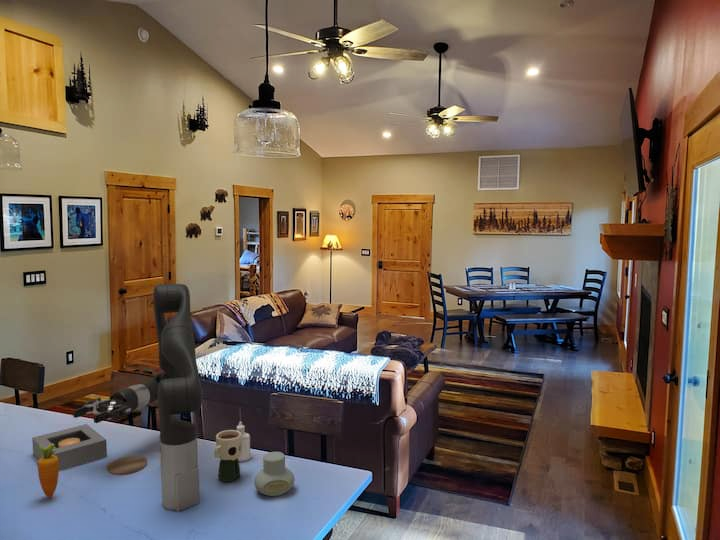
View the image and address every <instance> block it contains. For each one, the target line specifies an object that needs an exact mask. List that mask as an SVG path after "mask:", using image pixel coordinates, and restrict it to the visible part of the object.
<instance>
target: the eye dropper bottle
mask: <svg viewBox="0 0 720 540" xmlns="http://www.w3.org/2000/svg"><path fill="white" fill-rule="evenodd" d="M245 429H246V428H245V425H243V422H242V421H239V422H238V425H237V426H236V430H237V431H239V432H240V433H241V435H242V438H243V443H242V445H241V446H242V453H241V455H240V457H239V458H238V460H239V463H240V462H246V461H249V460H250V459H251V435H250V434H249V433H248V432H245Z"/></svg>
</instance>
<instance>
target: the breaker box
mask: <svg viewBox="0 0 720 540" xmlns="http://www.w3.org/2000/svg"><path fill="white" fill-rule="evenodd" d="M68 438H79V439H80V442H78V443H74V444H70V445H67V446H63V447H59V448H58V443H59V442H60V441H62V440H64V439H68ZM31 441H32V455H33V456H34V457H35V459H36V460H37V461H38V460H39V459H41V458H42V457H44V455H43V453H42V451H41V450H40V448H39V446H40V445H41V446H42V447H43V449H44V448H45V447H47V448H48V445H49V444H54V445H55V446H54V448H53V449H52V451H53V450H55V452H54V453H53V454H52V455H55V456H57V458H58V461H59V472H60V470H62V471H64V470H63V469H65V470H67V468H68V469H72V468H74V466H75V467H78V466H82V465H84V463H85V464H87V462H88V463H92V462H95V461H99V460H101V459H105V458H108V450H107V446H108V445H107V439H106V438H105V437H103V436H102V435H101V434H100V433H99V432H97V431H96V430H95V429H93V428H92V427H91V426H90V425H89V424H87V423H86V424H82V425H78V426H72V427H69V428H66V429H61V430H57V431H53V432H49V433H45V434H41V435H36V436H33V437H32V439H31ZM52 451H51V452H52ZM46 454H47V452H46ZM91 461H92V462H91ZM81 464H82V465H81ZM77 465H78V466H77ZM71 467H72V468H71Z"/></svg>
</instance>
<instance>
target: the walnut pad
mask: <svg viewBox="0 0 720 540" xmlns="http://www.w3.org/2000/svg"><path fill="white" fill-rule="evenodd" d="M147 465H148V460H147V458H146V457H145V456H142V455H128V456H122V457H120V458H119V457H118V458H117V459H114V460H112V461H111V462H109V463H108V464H107V472H108V473H109V474H110V473H111V475H115V476H124V475H131V474H134V473H137V472H140V471H141V470H144V469H145V468H146V467H147ZM144 467H145V468H144Z"/></svg>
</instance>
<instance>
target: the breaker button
mask: <svg viewBox="0 0 720 540" xmlns="http://www.w3.org/2000/svg"><path fill="white" fill-rule="evenodd" d="M78 442H80V439H79V438H68V439H64V440H62V441H60V442H59V443H58V448H59V447H63V446H67V445H70V444H74V443H78Z"/></svg>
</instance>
